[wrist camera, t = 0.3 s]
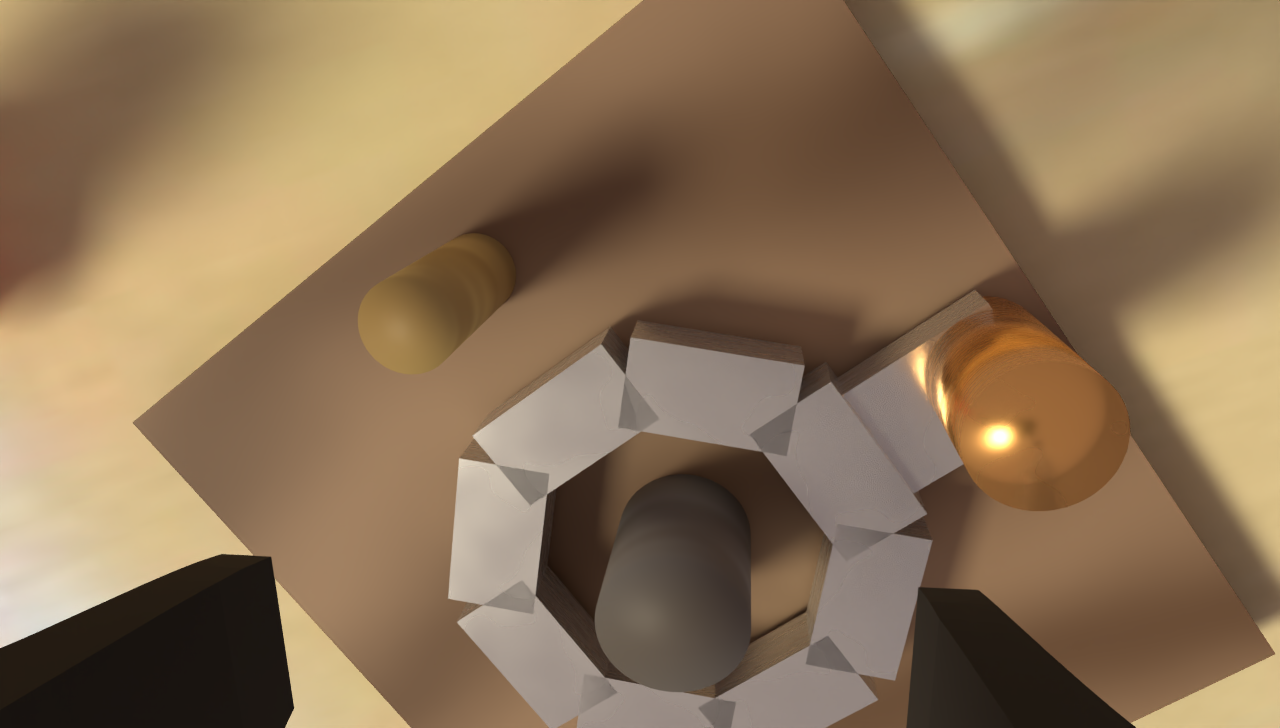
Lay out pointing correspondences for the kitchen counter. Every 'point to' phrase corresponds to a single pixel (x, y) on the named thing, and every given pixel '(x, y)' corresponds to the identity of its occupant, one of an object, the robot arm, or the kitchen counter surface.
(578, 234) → the peg base
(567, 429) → the white segmented ring
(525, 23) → the kitchen counter surface
